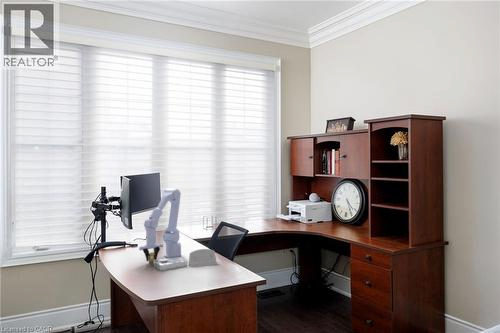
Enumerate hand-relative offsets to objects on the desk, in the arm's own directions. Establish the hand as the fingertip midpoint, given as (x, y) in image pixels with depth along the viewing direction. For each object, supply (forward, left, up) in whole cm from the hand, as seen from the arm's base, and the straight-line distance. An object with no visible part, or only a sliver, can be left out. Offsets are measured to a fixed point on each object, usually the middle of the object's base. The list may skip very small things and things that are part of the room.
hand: (151, 260), depth 224 cm
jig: (-7, +13, -2) cm, 15 cm away
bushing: (0, 0, -2) cm, 2 cm away
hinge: (-25, +20, -2) cm, 32 cm away
